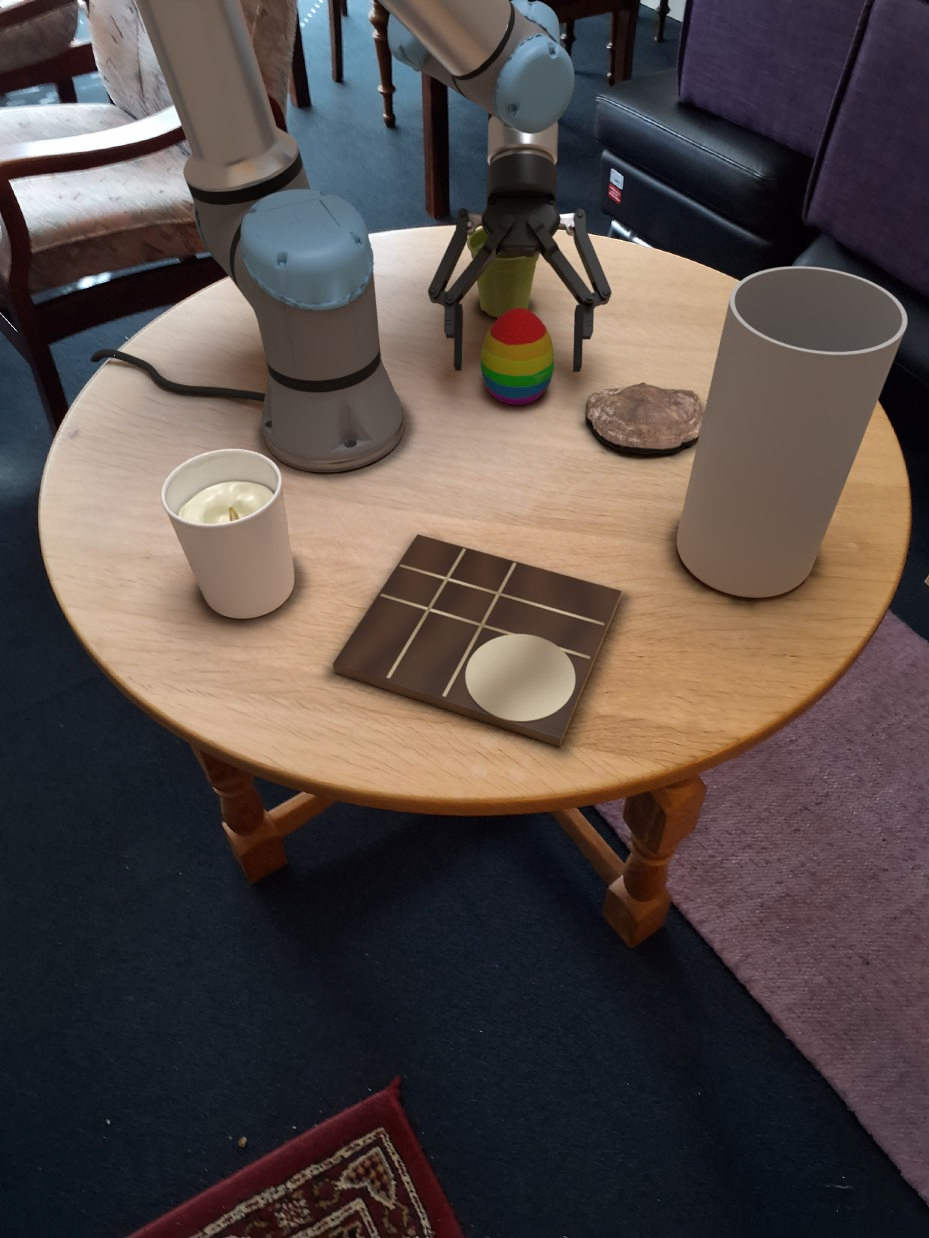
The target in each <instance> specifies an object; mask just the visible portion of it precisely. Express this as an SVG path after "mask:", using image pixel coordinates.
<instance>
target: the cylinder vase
mask: <svg viewBox="0 0 929 1238" xmlns="http://www.w3.org/2000/svg"><path fill="white" fill-rule="evenodd" d="M907 326H908V315H907V312H906V310H905V307H904V306H903V304H902V303H901V302H900V301H899V300H898V299H897V298H896V296H895V295H893V294H892V293H890V292H889V291H888V290H887V289H885V288H883V287H882V286H880V285H878V284H876V283H874V282H873V281H870V280H869V279H866V278H863V277H860V276H858V275H855V274H852V273H848V272H845V271H841V270H836V269H832V268H831V269H830V268H825V267H818V266H806V265H805V266H804V265H803V266H802V265H796V266H794V265H792V266H780V267H773V268H767V269H764V270H759V271H758V272H755V273H752V274H750V275H748V276H746V277H744V278H743V279H742V280H740V281H739V282H738V283H736V284H735V286H734V287H733V288H732V290H731V293H730V294H729V300H728V305H727V309H726V313H725V317H724V323H723V326H722V330H721V335H720V340H719V344H718V350H717V354H716V358H715V363H714V368H713V372H712V377H711V381H710V385H709V390H708V394H707V398H706V403H705V408H704V412H703V415H702V416H703V421H702V425H701V430H700V434H699V436H698V438H697V444H696V448H695V453H694V457H693V462H692V466H691V470H690V476H689V479H688V484H687V489H686V492H685V498H684V502H683V507H682V511H681V516H680V520H679V525H678V528H677V534H676V548H677V552H678V555H679V557H680V559H681V562H682V563H683V564H684V565H685V567H686V568H687V570H689V572H690V573H691V574H692V575H693V576H694V577H696V578H697V579H698V580H699V581H701V583H704V584H705V585H707V586H708V587H711V588H713V589H715V590H717V591H720V592H723V593H725V594H729V595H733V596H736V597H742V598H754V599H755V598H756V599H757V598H759V599H760V598H770V597H775V596H779V595H782V594H786V593H788V592H790V591H792V590H793V589H795V588H796V587H798V586H800V585H801V584H802V583H803V582H804V581H805V580H806V579H807V578H808V576H809V575H810V573H811V572H812V569H813V567H814V565H815V562H816V559H817V557H818V554H819V551H820V549H821V546H822V545H823V541H824V539H825V537H826V534H827V531H828V529H829V526H830V523H831V521H832V519H833V515H834V513H835V511H836V509H837V506H838V503H839V501H840V498H841V495H842V493H843V490H844V488H845V485H846V483H847V480H848V478H849V475H850V472H851V469H852V468H853V465H854V462H855V460H856V457H857V454H858V452H859V450H860V447H861V445H862V441H863V439H864V437H865V434H866V431H867V429H868V426H869V425H870V422H871V419H872V417H873V413H874V411H875V409H876V405H877V403H878V401H879V398H880V396H881V393H882V391H883V388H884V385H885V383H886V381H887V377H888V376H889V373H890V370H891V368H892V365H893V363H894V360H895V358H896V355H897V352H898V350H899V347H900V346H901V345H900V344H901V342H902V340H903V337H904V334H905V332H906V329H907Z"/></svg>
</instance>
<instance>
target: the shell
mask: <svg viewBox="0 0 929 1238" xmlns="http://www.w3.org/2000/svg"><path fill="white" fill-rule="evenodd" d="M703 416H704V415H703V413H702V412H701V398H700V397H699V394H698V393H697V392H696V391H693V390H690V389H689V390H688V389H677V388H669V389H668V388H661V387H659V386H656V385H653V384H647V383H646V382H640V383H637V384H632V385H628V386H623V387H616V388H606V389H602V390H596V391H593V392H591V393H590V394H589V396H588V399H587V400H586V404H585V419H586V422H587V425H588V427H589V428H590V429H591V430H592V431H593V433H594V435H595V436H596V438H597V439H598V440H600V441H601V442H602V443H604V444H606V445H607V446H609V447H610V448H612V449H615V450H617V451H619V452H621V453H636V454H640V455H649V454H660V455H667V454H675V453H678V452H680V451H682V450H684V449H685V448H686V447H688V446H689V447H691V446H692V445H694V443H695V442H696V440H698V439H699V434H700V430H701V425H702V421H703Z"/></svg>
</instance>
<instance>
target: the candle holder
mask: <svg viewBox="0 0 929 1238" xmlns="http://www.w3.org/2000/svg"><path fill="white" fill-rule="evenodd" d="M160 502H161V504H162V507H163V509H164V511H165V512H166V514H167V517H168V519H169V520H170V524H171V525H172V527H173V530H174V533H175V535H176V537H177V540H178V542H179V545H180V547H181V549H182V551H183V553H184V555H185V557H186V560H187V562H188V564H189V567H190V569H191V573H192V574H193V576H194V578H195V581H196V583H197V585H198V587H199V590H200V592H201V594H202V597H203V598H204V600H205V602H206V604H207V605H208V606H209V607H210V608H211V610H213V611H215V612H216V613H217V614H219V615H221V616H223V617H226V618H230V619H237V620H238V619H239V620H242V619H244V620H245V619H247V620H248V619H255V618H258V617H261V616H264V615H267V614H269V613H271V612H273V611H275V610H276V609H278V608H280V607H281V606H282V605H283V604H284V603H285V602H287V600H288V599H289V597H290V596H291V594H292V592H293V590H294V586H295V581H296V579H295V569H294V568H295V567H294V561H293V553H292V546H291V538H290V532H289V525H288V517H287V511H286V504H285V497H284V489H283V476H282V473H281V470H280V469H279V467H278V466H277V464H276V463H275V462H274V461H273V460H272V459H271V458H269V457H267V456H266V455H264V454H261V453H259V452H256V451H253V450H249V449H243V448H222V449H216V450H211V451H208V452H204V453H201V454H198V455H196V456H193V457H191V458H189V459H187V460H185V461H184V462H182V463H180V464H179V465H178V466H176V468H174V469H173V470H172V471H171V472H170V473H169V475H168V476H167V477H166V479H165V480H164V482H163V483H162V487H161V490H160Z"/></svg>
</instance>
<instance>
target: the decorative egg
mask: <svg viewBox="0 0 929 1238" xmlns="http://www.w3.org/2000/svg"><path fill="white" fill-rule="evenodd" d="M554 369H555V351H554V344H553V341H552V337H551V335H550V333H549V330H548V329H547V326H546V325H545V323H544V322H543V321H542V320H541V319H540V317H538V315H536V314H535V313H534V312H533V311H531V310H529V309H523V308H514V309H511V310H508V311H507V312H505V313H503V314H502V315H501V316H500V317H499V318H496V320H494V322H493V323H492V325H491V326H490V327H489V329H488V331H487V333H486V335H485V338H484V340H483V344H482V347H481V352H480V371H481V376H482V380H483V382H484V384H485V386H486V388H487V389H488V392H490V394H491V395H492V396H493V397H494V398H495V399H496V400H498V401H499V402H501V403H504V404H508V405H513V406H519V405H526V404H530V403H532V402H534V401H536V400H537V399H538V398H540V396H542V394H544V393H545V391H546V389H547V388H548V386H549V385H550V383H551V381H552V377H553V374H554Z"/></svg>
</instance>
